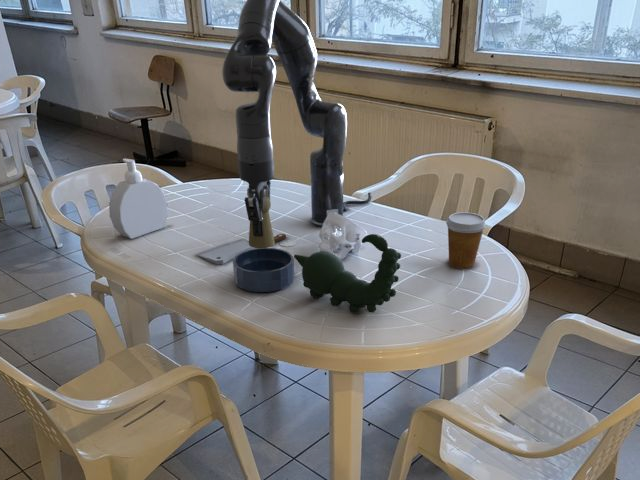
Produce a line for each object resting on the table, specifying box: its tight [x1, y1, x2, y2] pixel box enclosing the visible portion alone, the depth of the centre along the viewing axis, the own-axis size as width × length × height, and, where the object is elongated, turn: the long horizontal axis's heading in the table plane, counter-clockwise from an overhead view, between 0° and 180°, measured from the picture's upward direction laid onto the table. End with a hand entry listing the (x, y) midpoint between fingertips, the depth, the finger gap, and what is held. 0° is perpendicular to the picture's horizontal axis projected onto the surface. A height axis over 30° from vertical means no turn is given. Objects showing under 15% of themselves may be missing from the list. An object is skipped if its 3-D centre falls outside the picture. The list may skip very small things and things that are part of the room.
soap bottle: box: [108, 158, 169, 240], centre depth 170 cm, size 16×5×20 cm, turn 141°
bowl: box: [232, 247, 296, 293], centre depth 146 cm, size 14×14×6 cm
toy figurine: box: [293, 233, 402, 314], centre depth 133 cm, size 9×19×25 cm
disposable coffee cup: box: [445, 211, 487, 270], centre depth 152 cm, size 10×10×12 cm
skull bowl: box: [317, 212, 369, 261], centre depth 160 cm, size 10×14×12 cm
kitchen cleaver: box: [196, 233, 287, 265], centre depth 164 cm, size 24×1×10 cm
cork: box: [248, 196, 276, 248], centre depth 140 cm, size 6×6×11 cm
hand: (260, 232), depth 141 cm, fingers closed on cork, 4 cm apart
